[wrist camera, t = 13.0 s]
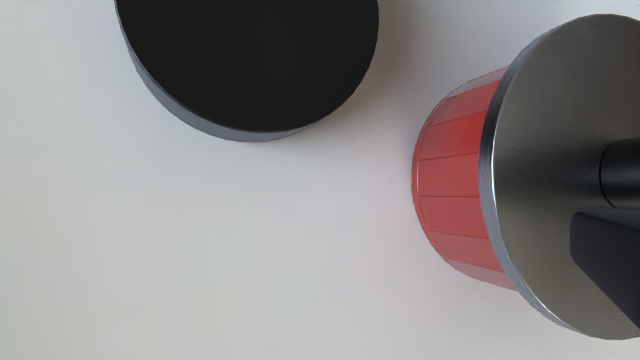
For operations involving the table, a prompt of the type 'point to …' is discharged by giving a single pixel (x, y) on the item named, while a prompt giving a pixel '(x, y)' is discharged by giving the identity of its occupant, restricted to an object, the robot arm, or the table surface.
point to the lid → (563, 162)
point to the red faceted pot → (456, 181)
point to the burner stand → (250, 60)
